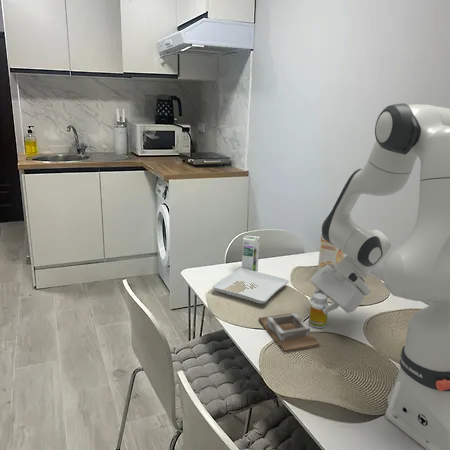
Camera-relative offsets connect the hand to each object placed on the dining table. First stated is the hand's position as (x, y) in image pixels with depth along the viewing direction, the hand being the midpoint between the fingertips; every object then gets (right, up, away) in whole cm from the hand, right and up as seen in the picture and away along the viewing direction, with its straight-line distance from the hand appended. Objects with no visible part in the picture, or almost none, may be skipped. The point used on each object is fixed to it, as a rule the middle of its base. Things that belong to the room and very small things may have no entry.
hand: (317, 307), depth 129 cm
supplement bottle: (0, -6, +2) cm, 6 cm away
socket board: (-10, -7, -3) cm, 13 cm away
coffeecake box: (+13, +5, +37) cm, 39 cm away
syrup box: (-19, +6, +40) cm, 45 cm away
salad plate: (-19, +1, +24) cm, 31 cm away
